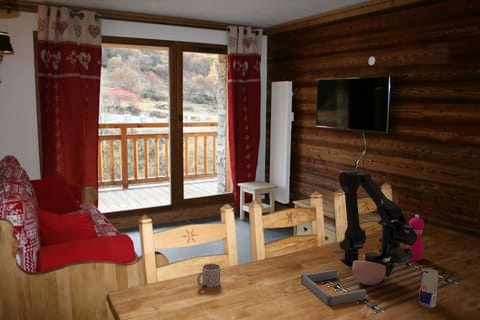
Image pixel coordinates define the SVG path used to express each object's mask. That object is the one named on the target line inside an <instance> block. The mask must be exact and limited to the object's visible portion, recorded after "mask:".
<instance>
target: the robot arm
mask: <svg viewBox="0 0 480 320" xmlns="http://www.w3.org/2000/svg"><path fill="white" fill-rule="evenodd" d="M338 180H339V181H338V182H339V186H340V189H342V191H343V193H344V199H345V210H346V213H345V214H346V222H347V223H346V224H347V226H346V228H345V231H344V238H343V239H342V241H341V242H339V243H338V246H339V248H340V250H343V257H342V258H340V259H339V260H340V262H341V263H344V264H345V265H347V266H349V267H350V266H351V267H352V266H353V262H354V261H360V259H359V257H360V256H359V255H360V254H359V252H360V251H359V250H361V249H362V250H363V247H364V245H365V244H366V242H367V241H366V240H367V236H366V233H367V232H366V229H362V226H361V225H360V223H361V222H360V215H359V204H358V190H359V188H360V186H361V187H362V188H363V190H364V191H365V192H366V193H367V195H368V196H369V198H371V201H372V202H373V203H374V204H375V206H376V212H377V213H378V215H379V217H380V220H379V221H377V225H381V238H379V239H378V242H380V248H378V253H377V252H374V251H370V252H365V254H364V255H365V256H366V261H367V262H373V263H379V264H382V265H385V268H386V272H385V277H387V278H390V276H391V274H392V271H393V269H394V267H395V265H397V264H399V265H400V264H402V263H403V264H404V263H407V262H408V260H410V259H411V258H412V255H413V253H412V250H411V249H410V248H406V247H404V246H401V244H404V245H406V246H407V245H409V246H412V245H414V244H415V242H416V240H417V234H416V232H415V231H414V228H413V227H411V226H410V225H408V222H407V220H406V218H405V216H404V213H403V211H402V209H401V207H400V206H399V205H398V204H397V203H396V202H394V200H391V199H389V198H388V197H387V196H386V194H385V193H384V192H383V191H382V190H381V188H380V187H379V186H378V185H377V183H376V182H375V181H374V180H373V178H372V176H371V174H369V173H367V172H366V173H364V172H361V173H360V172H359V173H358V172H357V171H355V170H352V171H350V170H349V171H342V172H341V173H340V175H338ZM379 253H380V254H379Z"/></svg>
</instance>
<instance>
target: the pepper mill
mask: <svg viewBox="0 0 480 320" xmlns="http://www.w3.org/2000/svg"><path fill="white" fill-rule="evenodd" d="M409 226H411V227H413V228H414V231H415V232H416V234H417V240H416V242H415V244H414V245H412V246H409V245H406V246H405V248H410V249H411V250H412V253H413V255H412V258H411V259H409V260H411V261H415V262H419V261H421V260H422V259H423V255H422V254H423V253H424V252H425V249H424V244H423V242H422V238H421V237H422V234H423V228H424V227H425V222H424V220H423V219H422V218H420V215H419V214H415V217H412V218H410V220H409Z"/></svg>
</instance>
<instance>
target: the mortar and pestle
mask: <svg viewBox="0 0 480 320" xmlns="http://www.w3.org/2000/svg"><path fill="white" fill-rule="evenodd" d="M351 267H352V269H351V270H352V274H353V276H354V278H355V279H356V280H357V281H358V282H359V283H361V284H362V285H366V286H375V285H378V284H379V283H381V281H383V279H384V278H385V277H386V275H385V272H386V268H385V265H382V264H379V263H373V262H368V261H366V256H365V254H364V255H363V256H362V260H358V261H354V262H353V265H351Z"/></svg>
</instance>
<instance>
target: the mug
mask: <svg viewBox="0 0 480 320" xmlns="http://www.w3.org/2000/svg"><path fill="white" fill-rule="evenodd" d="M201 278H202V281H201ZM196 283H197V286H200V287H201V286H203V285H205V286H207V287H206V288H210V287H211V288H217V287H219V286H220V285H221V266H220V265H219V264H218V263H206V264H203V266H202V270H201V272H199V273H198V274H197V277H196ZM205 286H203V287H205ZM216 286H217V287H216Z"/></svg>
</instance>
